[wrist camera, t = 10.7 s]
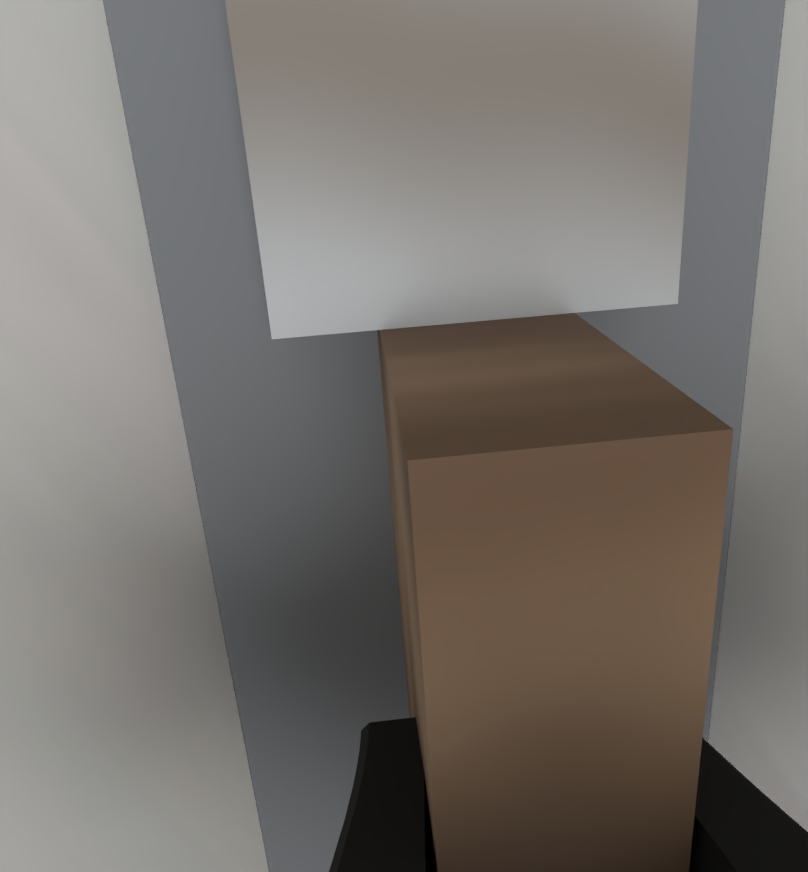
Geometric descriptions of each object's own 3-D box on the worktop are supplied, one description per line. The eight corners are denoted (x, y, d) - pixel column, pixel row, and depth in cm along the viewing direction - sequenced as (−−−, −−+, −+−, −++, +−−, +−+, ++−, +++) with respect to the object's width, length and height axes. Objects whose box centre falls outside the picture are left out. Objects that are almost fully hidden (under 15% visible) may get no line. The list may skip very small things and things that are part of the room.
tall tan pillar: (615, 903, 15) (743, 1256, 10) (360, 935, 14) (370, 1312, 10) (665, -97, 9) (1054, -378, 4) (225, -70, 8) (84, -335, 4)
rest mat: (672, 990, 16) (680, 1010, 16) (306, 1038, 16) (305, 1060, 16) (788, -201, 9) (807, -217, 8) (81, -163, 8) (69, -178, 8)
